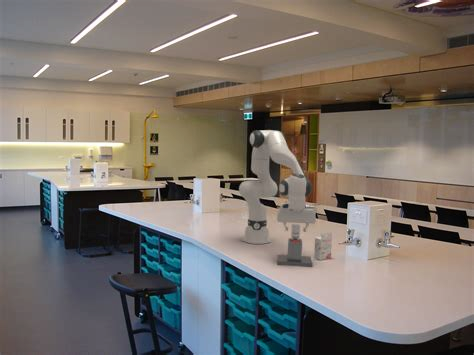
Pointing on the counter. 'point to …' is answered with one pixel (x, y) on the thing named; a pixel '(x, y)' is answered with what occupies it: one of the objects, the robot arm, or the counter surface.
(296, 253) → the stand base
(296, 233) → the column
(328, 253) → the ink cartridge box
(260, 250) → the counter surface
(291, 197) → the robot arm
